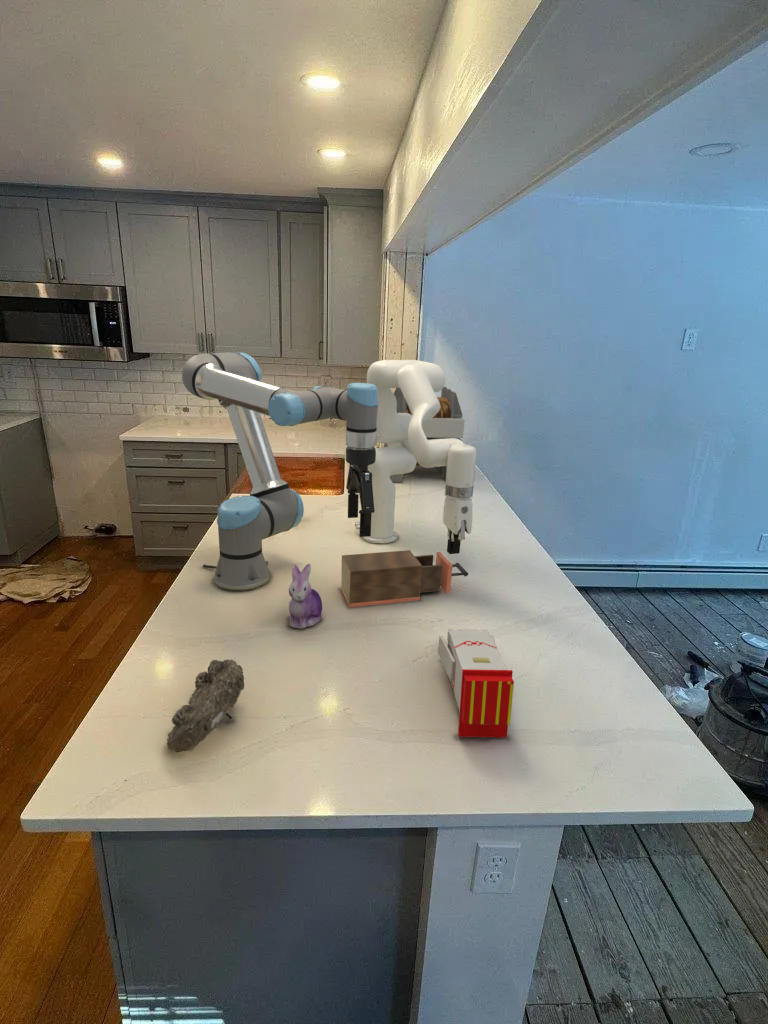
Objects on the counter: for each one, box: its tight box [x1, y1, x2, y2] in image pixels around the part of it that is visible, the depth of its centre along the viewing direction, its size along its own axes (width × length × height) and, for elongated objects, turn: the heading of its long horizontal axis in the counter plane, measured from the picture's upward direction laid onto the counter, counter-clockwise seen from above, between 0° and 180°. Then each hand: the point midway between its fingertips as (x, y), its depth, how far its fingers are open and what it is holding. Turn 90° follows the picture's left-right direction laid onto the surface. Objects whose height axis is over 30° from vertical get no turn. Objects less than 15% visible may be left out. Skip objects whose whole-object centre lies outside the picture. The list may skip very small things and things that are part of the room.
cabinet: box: [340, 549, 422, 608], centre depth 155 cm, size 20×11×10 cm, turn 106°
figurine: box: [288, 563, 323, 629], centre depth 140 cm, size 9×10×15 cm
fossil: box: [166, 658, 245, 754], centre depth 106 cm, size 22×10×15 cm
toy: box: [437, 628, 515, 738], centre depth 117 cm, size 12×13×30 cm
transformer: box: [383, 386, 465, 483], centre depth 268 cm, size 34×33×41 cm
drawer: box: [414, 551, 469, 594], centre depth 159 cm, size 24×9×8 cm, turn 106°
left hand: (358, 526), depth 148 cm, fingers open, 13 cm apart
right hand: (453, 552), depth 159 cm, fingers closed
